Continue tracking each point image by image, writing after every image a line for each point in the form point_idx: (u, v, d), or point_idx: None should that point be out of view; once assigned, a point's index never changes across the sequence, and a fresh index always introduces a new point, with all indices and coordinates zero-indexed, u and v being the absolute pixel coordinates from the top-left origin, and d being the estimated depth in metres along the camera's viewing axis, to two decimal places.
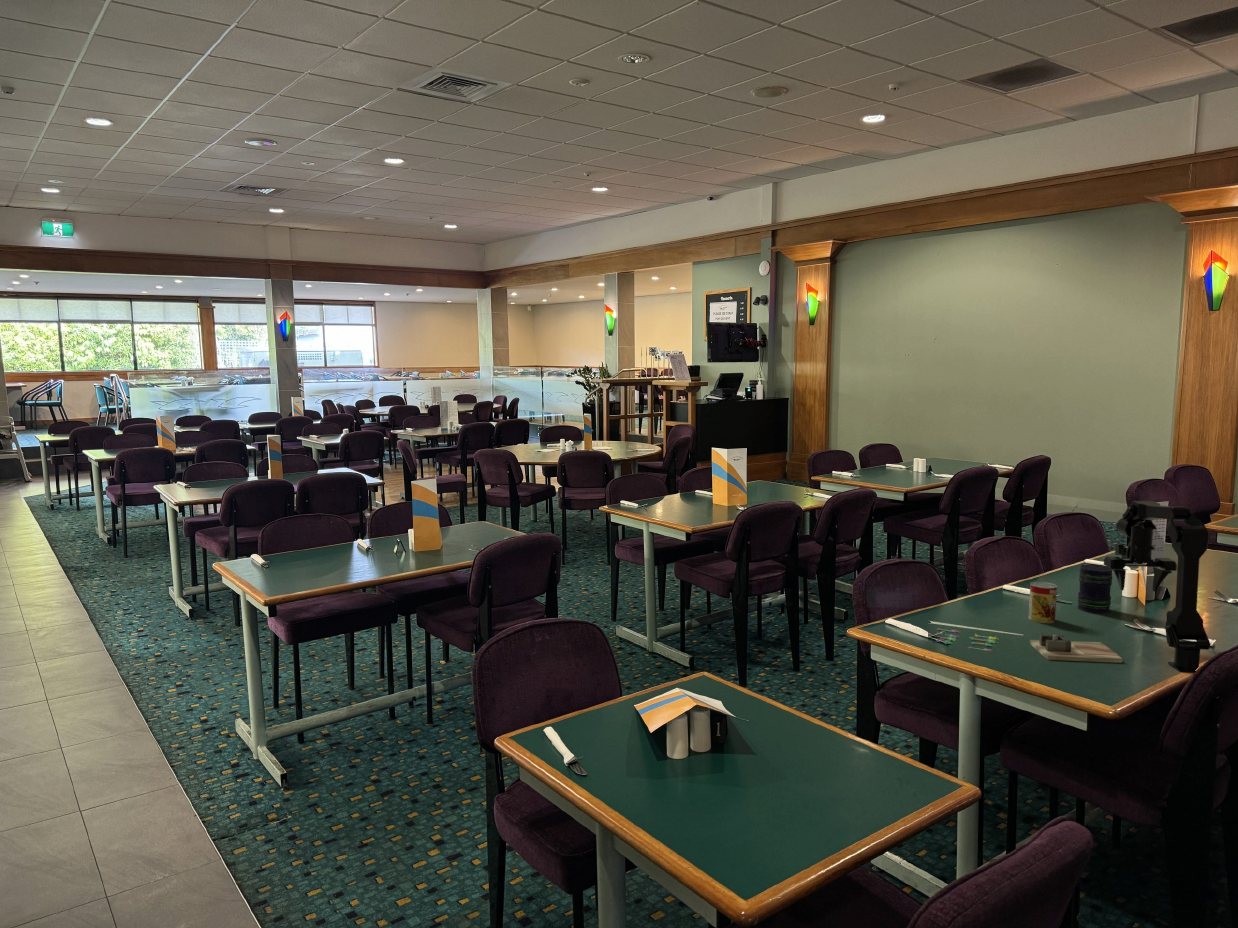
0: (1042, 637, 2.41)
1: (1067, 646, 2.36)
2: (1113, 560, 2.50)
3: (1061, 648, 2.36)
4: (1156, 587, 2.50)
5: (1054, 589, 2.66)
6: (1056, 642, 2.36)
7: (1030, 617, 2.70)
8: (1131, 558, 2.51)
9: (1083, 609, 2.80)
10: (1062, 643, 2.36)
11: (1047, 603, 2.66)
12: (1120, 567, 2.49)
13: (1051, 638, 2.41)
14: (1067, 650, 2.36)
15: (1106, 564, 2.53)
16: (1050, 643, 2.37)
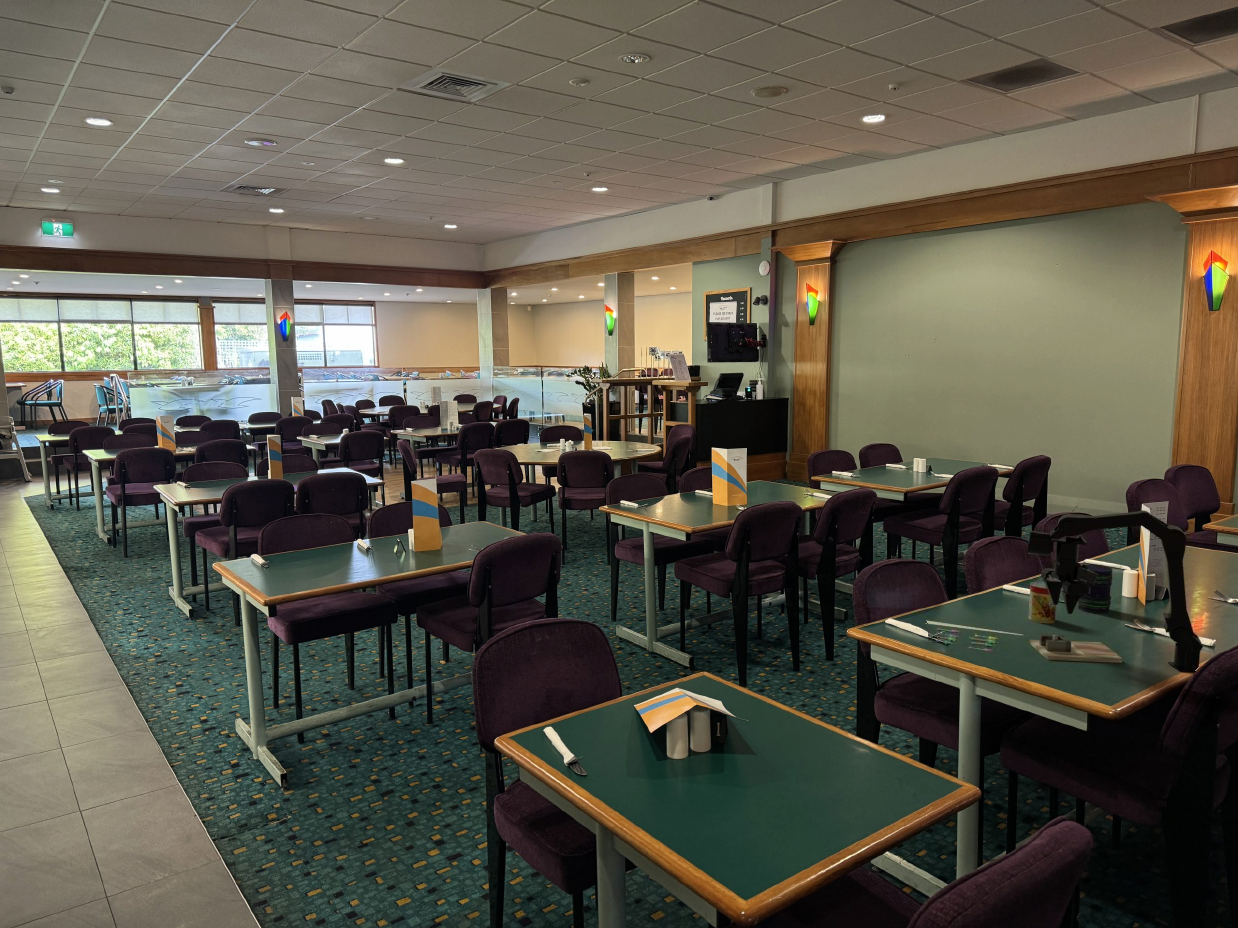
0: (1042, 637, 2.41)
1: (1067, 646, 2.36)
2: (1044, 569, 2.47)
3: (1061, 648, 2.36)
4: (1066, 609, 2.35)
5: None
6: (1056, 642, 2.36)
7: (1030, 617, 2.70)
8: None
9: (1083, 609, 2.80)
10: (1062, 643, 2.36)
11: (1047, 603, 2.66)
12: (1043, 577, 2.46)
13: (1051, 638, 2.41)
14: (1067, 650, 2.36)
15: None
16: (1050, 643, 2.37)
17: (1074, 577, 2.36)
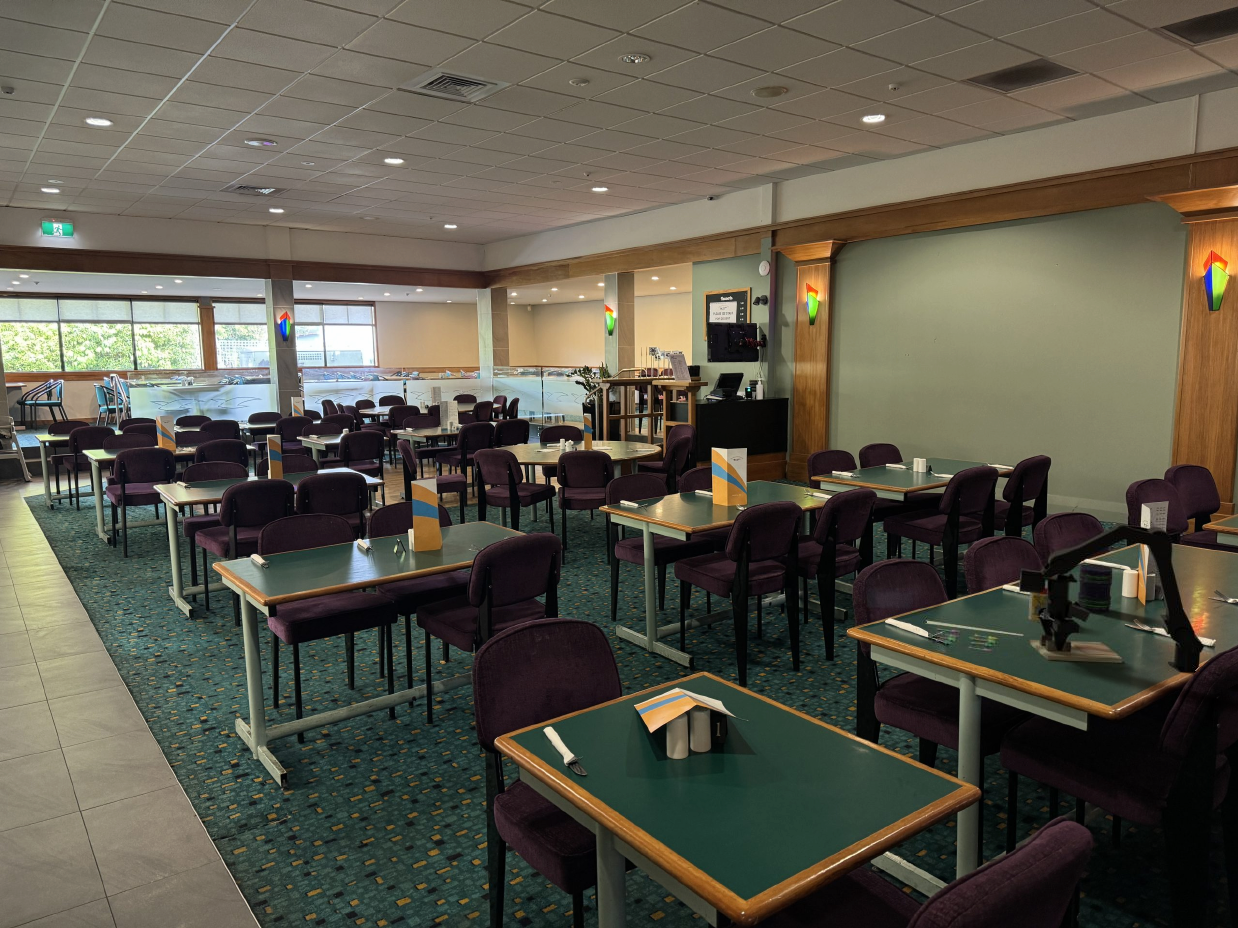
0: (1042, 637, 2.41)
1: (1067, 646, 2.36)
2: (1037, 605, 2.47)
3: None
4: (1056, 645, 2.36)
5: None
6: None
7: (1030, 617, 2.70)
8: None
9: None
10: None
11: None
12: (1036, 613, 2.46)
13: (1051, 638, 2.41)
14: (1067, 650, 2.36)
15: None
16: (1050, 643, 2.37)
17: (1065, 615, 2.36)
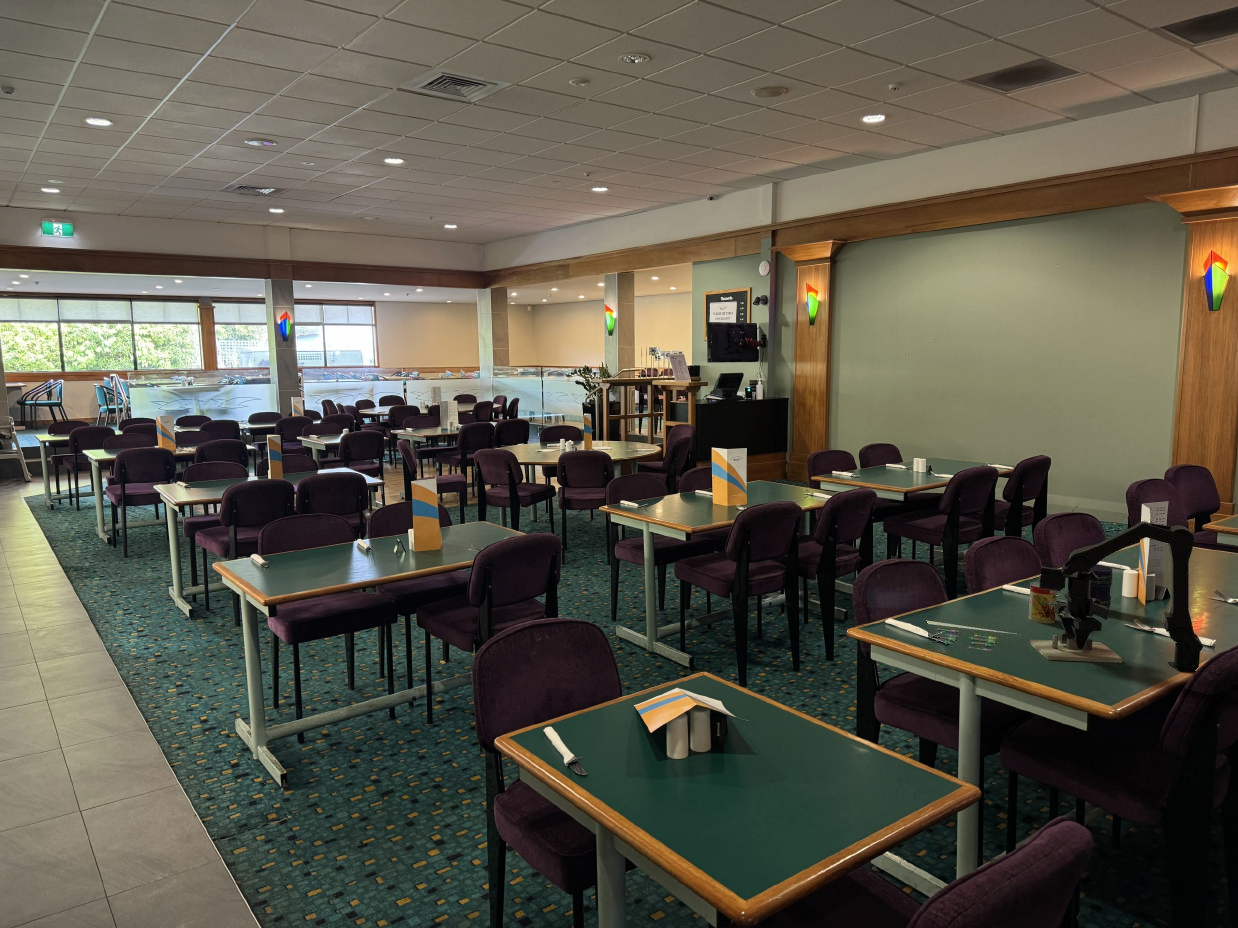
0: (1063, 635, 2.41)
1: (1088, 644, 2.35)
2: (1057, 603, 2.46)
3: None
4: (1077, 643, 2.35)
5: None
6: None
7: (1030, 617, 2.70)
8: None
9: None
10: None
11: (1047, 603, 2.66)
12: (1056, 611, 2.45)
13: (1072, 636, 2.40)
14: (1088, 648, 2.35)
15: None
16: (1071, 641, 2.36)
17: (1086, 613, 2.35)
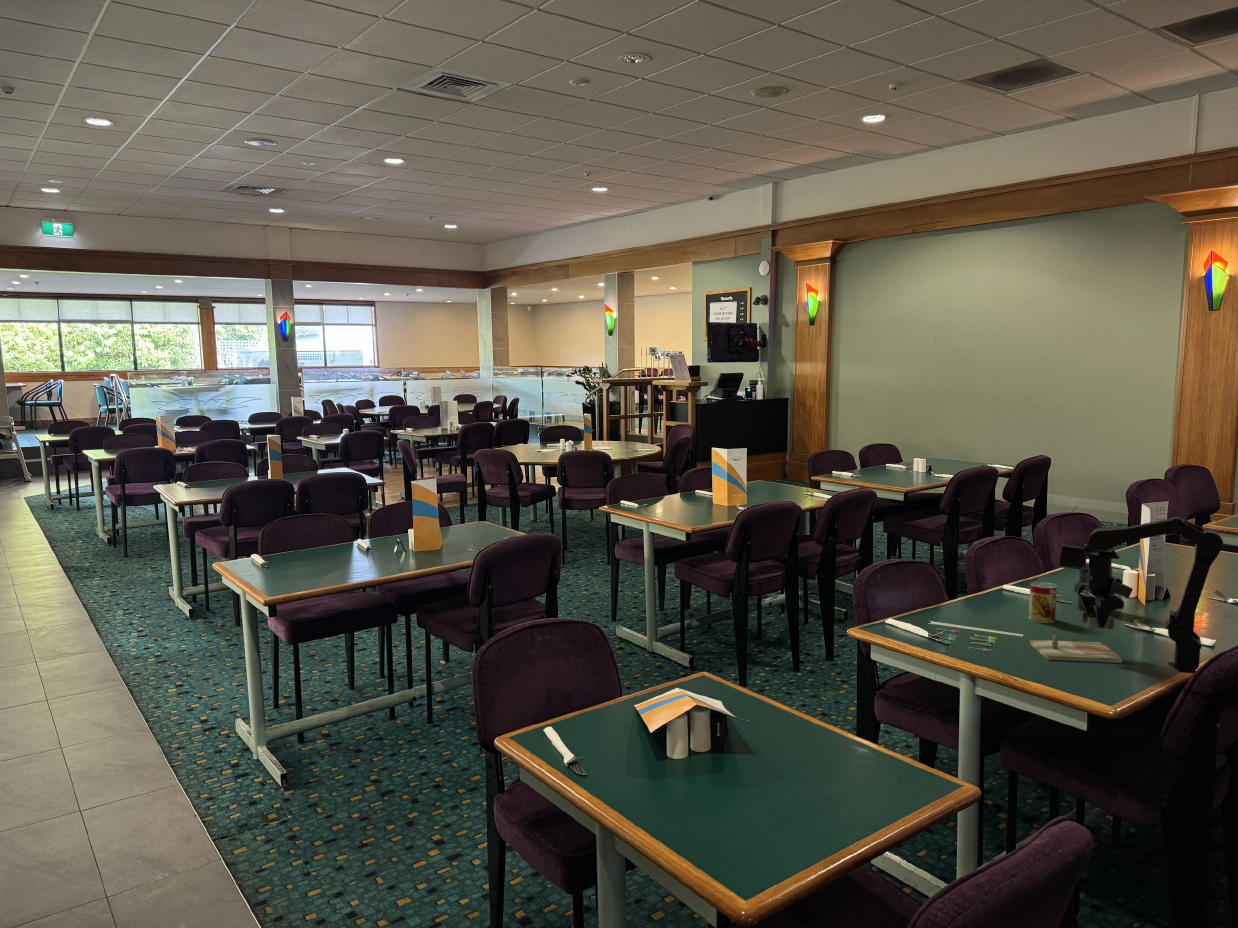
0: (1083, 614, 2.39)
1: (1109, 622, 2.34)
2: (1077, 583, 2.45)
3: None
4: (1098, 622, 2.34)
5: (1054, 589, 2.66)
6: None
7: (1030, 617, 2.70)
8: None
9: (1083, 609, 2.80)
10: None
11: (1047, 603, 2.66)
12: (1077, 591, 2.43)
13: (1092, 615, 2.39)
14: (1109, 627, 2.34)
15: None
16: (1093, 620, 2.34)
17: (1108, 591, 2.33)
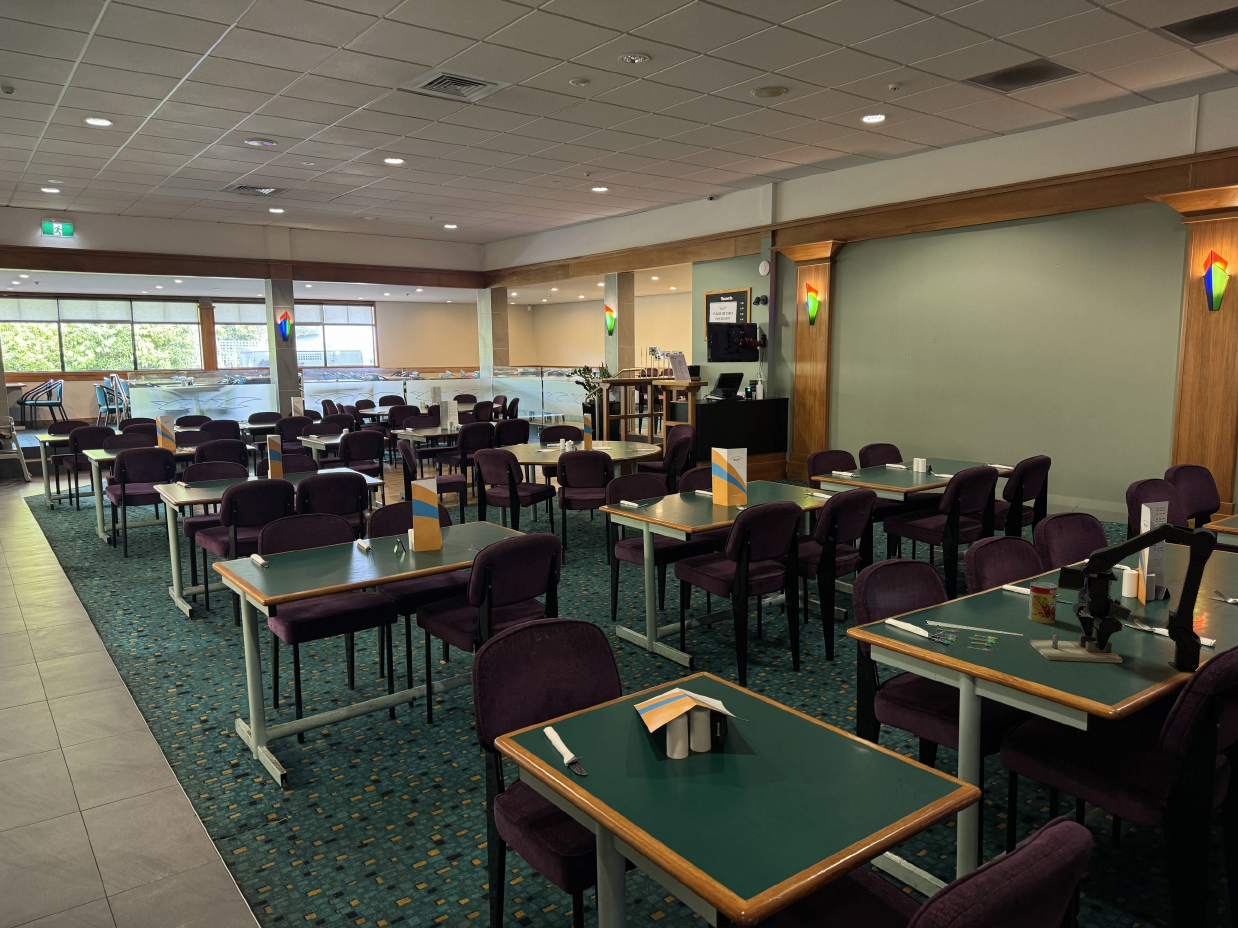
0: (1081, 638, 2.40)
1: (1107, 647, 2.34)
2: (1076, 603, 2.46)
3: None
4: (1098, 645, 2.34)
5: (1054, 589, 2.66)
6: (1096, 643, 2.35)
7: (1030, 617, 2.70)
8: None
9: None
10: None
11: (1047, 603, 2.66)
12: (1075, 611, 2.44)
13: (1090, 639, 2.40)
14: (1107, 651, 2.35)
15: None
16: (1091, 644, 2.35)
17: (1106, 613, 2.34)
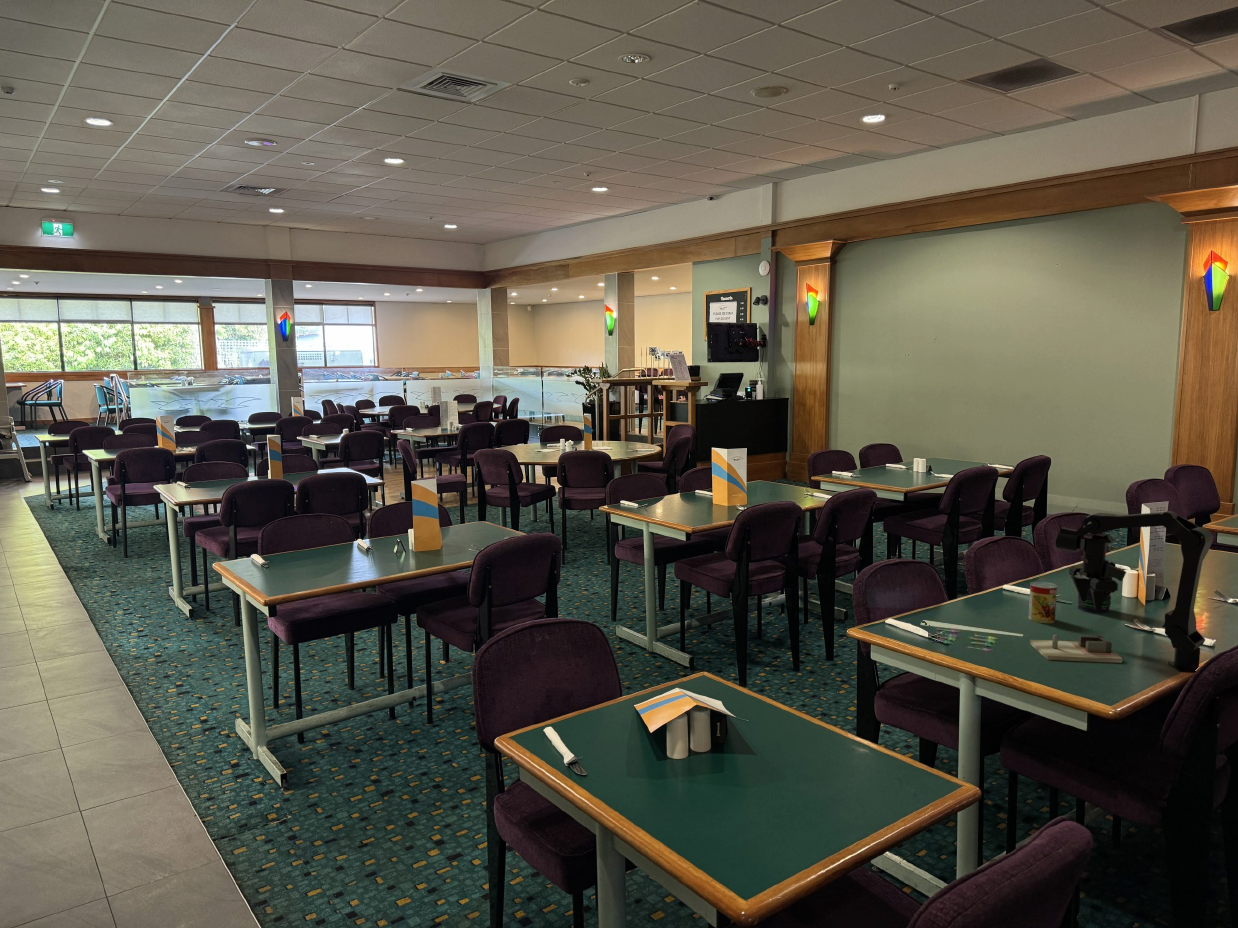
0: (1081, 638, 2.40)
1: (1107, 647, 2.34)
2: (1072, 566, 2.52)
3: (1101, 649, 2.35)
4: (1094, 605, 2.40)
5: (1054, 589, 2.66)
6: (1096, 643, 2.35)
7: (1030, 617, 2.70)
8: None
9: (1083, 609, 2.80)
10: (1102, 644, 2.35)
11: (1047, 603, 2.66)
12: (1071, 574, 2.50)
13: (1090, 639, 2.40)
14: (1107, 651, 2.35)
15: None
16: (1091, 644, 2.35)
17: (1102, 574, 2.41)
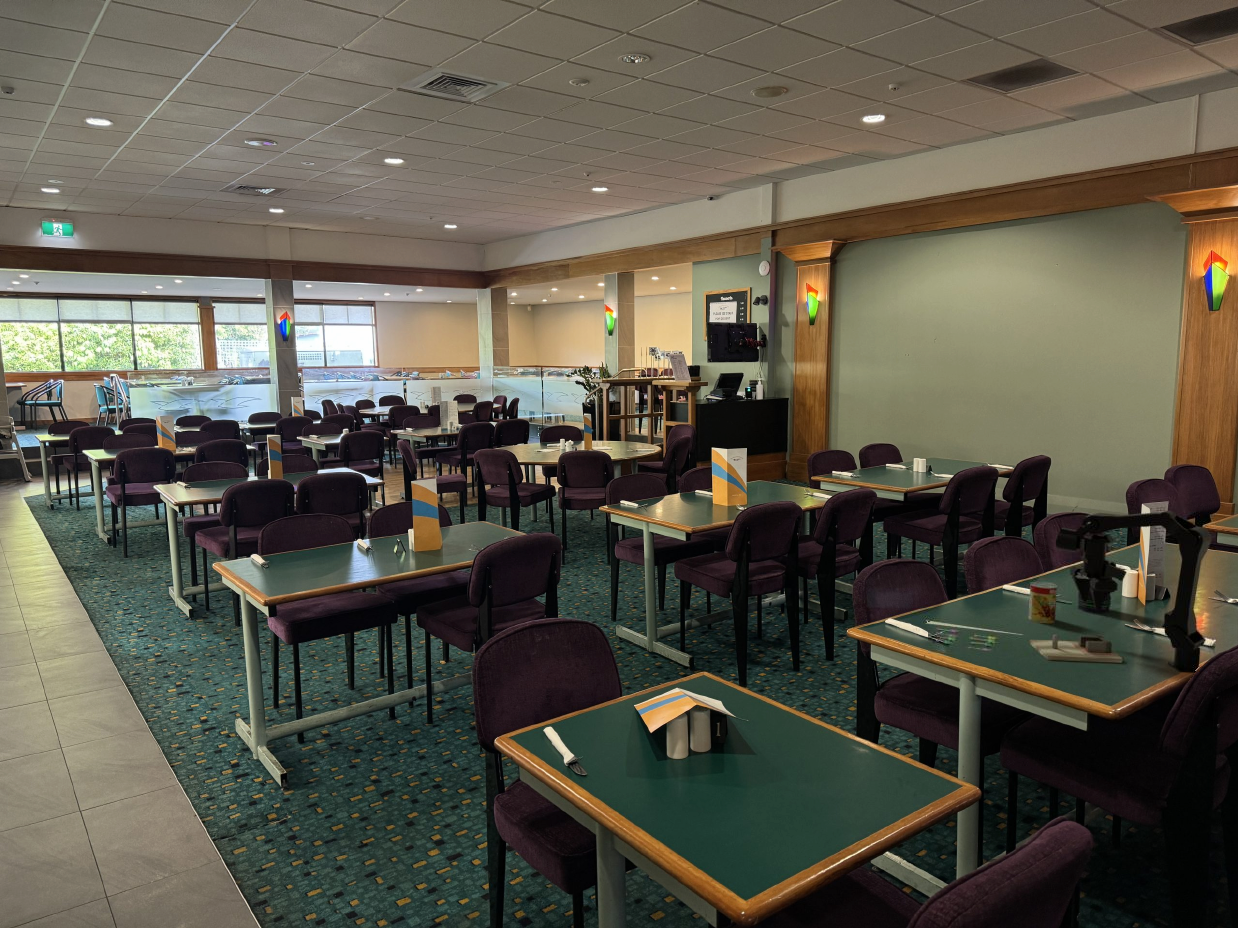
0: (1081, 638, 2.40)
1: (1107, 647, 2.34)
2: (1073, 566, 2.53)
3: (1101, 649, 2.35)
4: None
5: (1054, 589, 2.66)
6: (1096, 643, 2.35)
7: (1030, 617, 2.70)
8: None
9: (1083, 609, 2.80)
10: (1102, 644, 2.35)
11: (1047, 603, 2.66)
12: (1072, 574, 2.51)
13: (1090, 639, 2.40)
14: (1107, 651, 2.35)
15: None
16: (1091, 644, 2.35)
17: (1102, 574, 2.41)
